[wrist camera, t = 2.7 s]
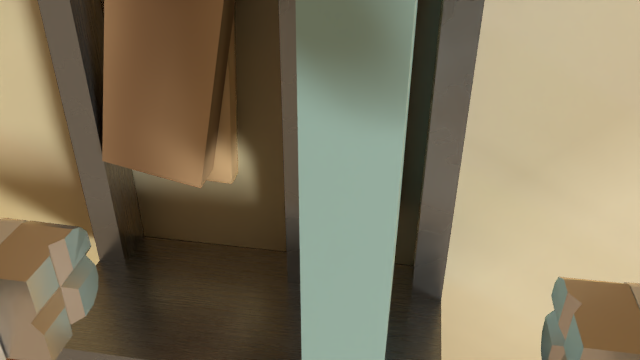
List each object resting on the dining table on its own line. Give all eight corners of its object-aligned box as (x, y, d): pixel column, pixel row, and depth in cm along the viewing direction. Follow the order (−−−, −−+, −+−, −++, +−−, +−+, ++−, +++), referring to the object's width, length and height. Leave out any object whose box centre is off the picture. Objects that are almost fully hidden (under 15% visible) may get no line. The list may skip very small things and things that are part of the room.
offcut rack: (517, -276, 16) (562, -329, 10) (437, 289, 27) (437, 423, 21) (14, -268, 18) (-187, -307, 12) (124, 254, 29) (43, 366, 23)
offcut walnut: (248, -92, 19) (233, -86, 18) (213, 169, 24) (200, 188, 23) (128, -123, 19) (106, -119, 18) (119, 143, 25) (102, 160, 23)
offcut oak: (236, -150, 20) (222, -148, 18) (242, 165, 26) (232, 183, 25) (121, -159, 20) (99, -157, 19) (154, 154, 26) (139, 170, 25)
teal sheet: (434, -189, 18) (432, -194, 10) (400, 205, 25) (383, 375, 17) (353, -190, 18) (291, -194, 10) (342, 200, 25) (301, 365, 18)
